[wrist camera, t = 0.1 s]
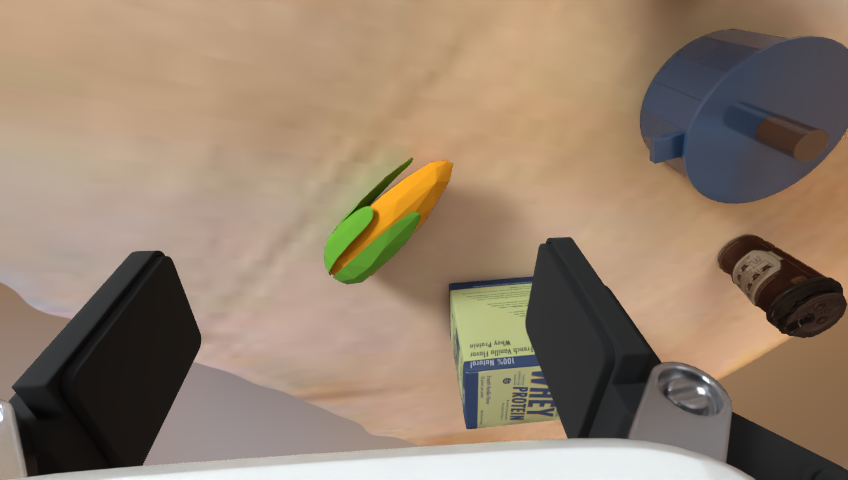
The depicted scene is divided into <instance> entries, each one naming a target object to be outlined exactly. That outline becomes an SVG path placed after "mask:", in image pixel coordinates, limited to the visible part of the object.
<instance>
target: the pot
mask: <svg viewBox="0 0 848 480" xmlns="http://www.w3.org/2000/svg"><path fill="white" fill-rule="evenodd" d="M784 39H788V38H784V37H778V36H773V35H767V34H761V33H755V32H749V31H743V30H737V29H728V30H721V31H716V32H712V33H709V34H707V35H704V36H702V37H700V38H698V39H695V40H694V41H692V42H690V43H689V44H687V45H686V46H684V47H683V48H682V49H680V50H679V51H678V52H676V53H675V54H674V55H673V56H672V57H671V58H670V59H669V60H668V61H667V62H666V63H665V64H664V65H663V67H662V68H661V69H660V70H659V72H658V73H657V74H656V76H655V77H654V79H653V81H652V82H651V84H650V86H649V88H648V90H647V92H646V95H645V98H644V101H643V104H642V109H641V115H640V128H641V133H642V137H643V139H644V142H645V144H646V145H647V147H648V148H649V150H650V161H652V162H653V163H659V162H663V161H664V162H666V163H667V164H668V165H670V166H671V167H673V168H674V169H676V170H677V171H678V172H680V173H681V174H683V175H684V176H686V173H685V170H684V166H683V144H684V139H685V135H686V132H687V128H688V126H689V124H690V121H691V119H692V117H693V115H694V113H695V111H696V109H697V107H698V106H699V104H700V103H701V101H702V100H703V98H704V97H705V95H706V94H707V93H708V92H709V90H710V89H711V88H712V87H713V86H714V84H715V83H716V82H717V81H718V80H719V79H720V78H721V77H722V76H723V75H724V74H725V73H726V72H728V71H729V70H730V69H731V68H732V67H733V66H735V65H736V64H737V63H739V62H740V61H741V60H743V59H744V58H746V57H747V56H749V55H750V54H752V53H754V52H756V51H757V50H759V49H761V48H763V47H765V46H768V45H770V44H772V43H775V42H778V41H781V40H784ZM686 177H687V176H686Z"/></svg>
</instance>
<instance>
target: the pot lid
mask: <svg viewBox="0 0 848 480" xmlns="http://www.w3.org/2000/svg"><path fill="white" fill-rule="evenodd" d="M847 129H848V49H847V48H846V47H845V46H844V45H842V44H841V43H839V42H837V41H835V40H832V39H828V38H824V37H818V36H799V37H793V38H788V39H784V40H781V41H778V42H775V43H772V44H770V45H768V46H765V47H763V48H761V49H759V50H757V51H756V52H754V53H752V54H750V55H749V56H747V57H746V58H744V59H743V60H741V61H740V62H739V63H737V64H736V65H735V66H733V67H732V68H731V69H730V70H729V71H728V72H726V73H725V74H724V75H723V76H722V77H721V78H720V79H719V80H718V81H717V82H716V83H715V84H714V86H713V87H712V88H711V89H710V90H709V92H708V93H707V94H706V95H705V97H704V98H703V100H702V101H701V103H700V104H699V106H698V107H697V109H696V111H695V113H694V115H693V117H692V119H691V121H690V124H689V126H688V128H687V132H686V135H685V139H684V144H683V166H684V170H685V173H686V176H687V178H688V180H689V182H690V183H691V184H692V186H693V187H694V188H695V189H696V190H697V191H698V192H700V193H701V194H702V195H704V196H706V197H707V198H709V199H712V200H715V201H718V202H723V203H746V202H751V201H756V200H759V199H763V198H766V197H768V196H771V195H773V194H776V193H778V192H780V191H782V190H784V189H786V188H788V187H789V186H791V185H793V184H794V183H796V182H797V181H799V180H800V179H802V178H803V177H804V176H806V175H807V174H808V173H810V172H811V171H812V170H813V169H814V168H815V167H817V166H818V165H819V164H820V163H821V162H822V161H823V160H824V159H825V158H826V157H827V156H828V154H829V153H830V152H831V151H832V150H833V149H834V148H835V146H836V145H837V144H838V142H839V141H840V140H841V138H842V137H843V135H844V133H845V132H846V130H847Z"/></svg>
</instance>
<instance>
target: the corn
mask: <svg viewBox="0 0 848 480" xmlns="http://www.w3.org/2000/svg"><path fill="white" fill-rule="evenodd" d="M412 160H413V158H411V159H409V160H408V161H407V162H405V163H404V164H403V165H401V166H400V167H399V168H397V169H396V170H395V171H393V172H392V173H391V174H389V175H388V176H387V177H385V178H384V179H383V180H382V181H381V182H380V183H379V184H378V185H377V186H376V187H375V188H374V189H373V190H372V191H371V192H370V193H369V194H368V195H367V196H366V197H365V198H364V199H362V200H361V201H360V202H359V203H358V204H357V205H356V206H355V207H354V208H353V209H352V210H351V211H350V212H349V213H348V214H347V215H346V216H345V217H344V219H343V220H342V221H341V223H340V224H339V225H338V226H337V228H336V229H335V230H334V232H333V233H332V235H331V236H330V237H329V238H328V241H327V243H326V246H325V255H324V261H325V266H326V268H327V270H328V272H329V271H330V272H331V273H332V274H333V275H334V277H333V278H335V279H337V280H338V281H340V282H343V283H345V284H353V283H360V282H363V281H364V280H365V279H367V278H368V277H369V276H372V275H373V274H374V273H375V272H376V271H377V270H378V269H379V268H380V267H381V266H382V265H383V264H384V263H385V262H387V261H388V260H389V259H390V258H391V257H393V256H394V255H395V254H396V253H397V251H398V250H399V249H400V248H401V247H402V246H403V245H404V244H405V242H406V241H407V240H408V239H409V238H410V236H411V235H412V234H413V233H414V232H415V230H416V229H417V228H418V227H419V226H420V225H421V224H422V223H423V222H424V221H425V220H426V219H427V217H428V216H429V214H430V212H431V210H432V208H433V207H434V205H435V203H436V201H437V200H438V198H439V197H440V195H441V193H442V192H443V190H444V189H445V187H446V185H447V184H448V182H449V180H450V176H451V171H452V166H453V163H451V162H449V161H446V160H442V161H435V162H431V163H430V164H428V165H426V166H425V167H423V168H421V169H420V170H418V171H416V172H415V173H413V174H411V175H409V176H408V177H407V178H405V179H404V180H402V181H401V182H400V183H398V184H397V185H396V186H394V187H393V188H392V189H390V190H389V191H388V192H386V193H385V194H383V195H382V196H381V197H380V198H379V199H378V200H377V201H376V202H374V203H373V204H372V205H371V206H370V204H371V203H372V202H373V201H374V200H375V199H376V198H377V197H378V196H379V195H380V194H381V193H382V192H383V190H384V189H385V188H386V187H387V186H388V185H389V184H390V183H391V182H392V181H393V180H394V179H395V178H396V177H397V176H398V175H399V174H400V173H401V172H402V171H403V170H404V169H406V168H407V167H408V166H409V165H410V163H411V162H412ZM330 272H329V274H330V275H331V273H330Z"/></svg>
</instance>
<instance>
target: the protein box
mask: <svg viewBox="0 0 848 480" xmlns="http://www.w3.org/2000/svg"><path fill="white" fill-rule="evenodd" d="M532 281H533V277H526V278H513V279H501V280H490V281H477V282H466V283H454V284H449V298H450V336H451V341H452V347H453V353H454V359H455V364H456V370H457V376H458V382H459V388H460V394H461V400H462V407H463V413H464V419H465V424H466V429H476V428H485V427H493V426H502V425H512V424H521V423H531V422H541V421H551V420H560V417H559V414H558V412H557V409H556V407H555V404H554V402H553V399H552V396H551V394H550V391H549V389H548V386H547V384H546V381H545V378H544V376H543V373H542V371H541V368H540V366H539V363H538V360H537V358H536V355H535V353H534V350H533V348H532V345H531V342H530V340H529V337H528V335H527V332H526V327H525V318H526V313H527V308H528V303H529V297H530V292H531V287H532Z"/></svg>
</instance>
